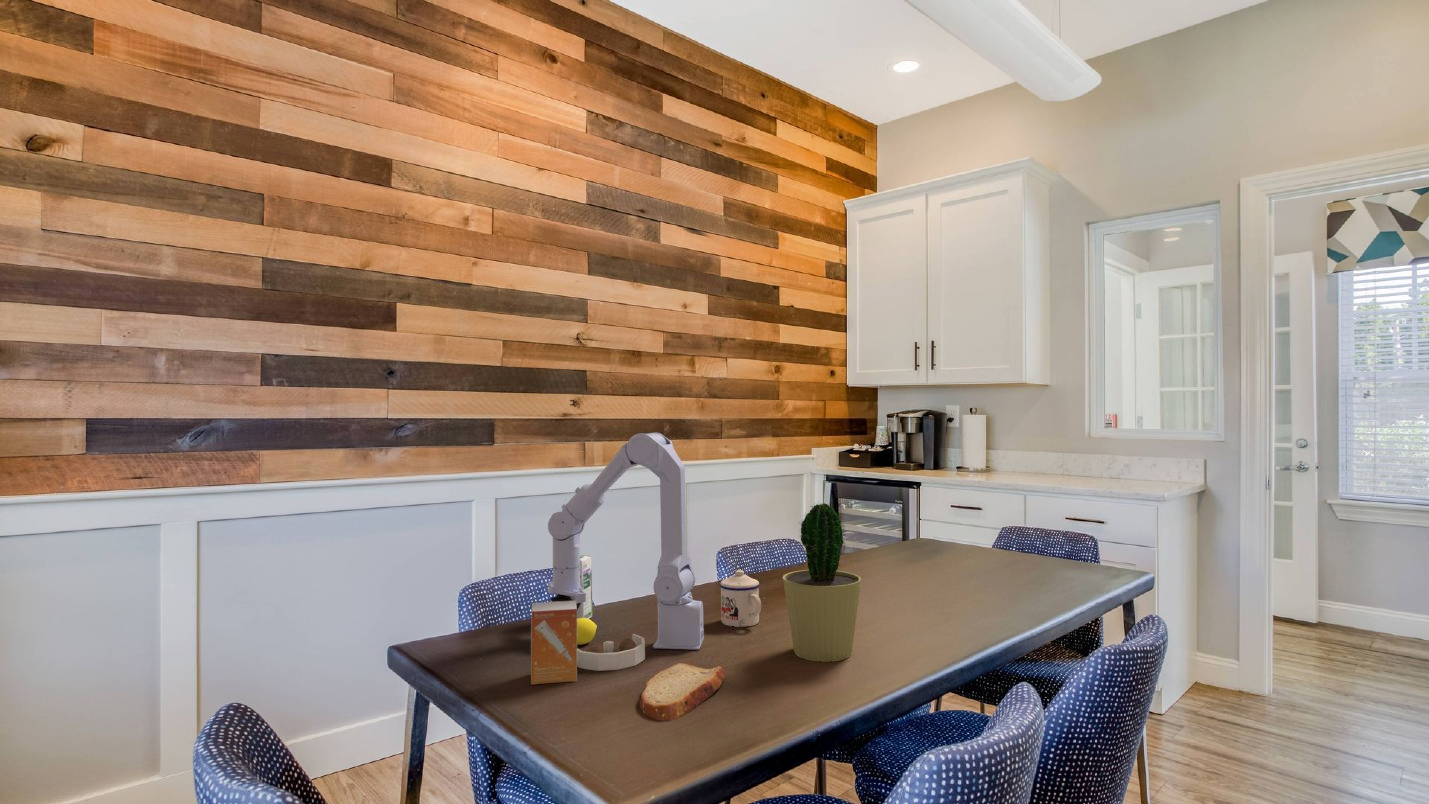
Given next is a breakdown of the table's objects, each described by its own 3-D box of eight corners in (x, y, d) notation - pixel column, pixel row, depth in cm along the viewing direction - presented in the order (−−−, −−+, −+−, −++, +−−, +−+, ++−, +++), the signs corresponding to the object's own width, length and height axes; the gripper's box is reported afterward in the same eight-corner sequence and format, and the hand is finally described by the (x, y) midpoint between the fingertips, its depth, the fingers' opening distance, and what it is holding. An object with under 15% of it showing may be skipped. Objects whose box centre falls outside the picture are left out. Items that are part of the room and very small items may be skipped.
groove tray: (657, 651, 147) (657, 636, 147) (621, 674, 134) (621, 657, 134) (605, 644, 152) (605, 630, 152) (565, 666, 139) (565, 650, 139)
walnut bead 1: (606, 660, 142) (606, 643, 142) (601, 666, 138) (601, 648, 138) (589, 660, 142) (589, 642, 142) (584, 666, 139) (584, 648, 139)
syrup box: (583, 623, 167) (583, 559, 168) (559, 622, 169) (559, 559, 169) (592, 617, 173) (592, 555, 173) (569, 616, 174) (568, 554, 174)
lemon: (572, 652, 149) (568, 626, 148) (562, 645, 153) (558, 620, 153) (603, 641, 152) (600, 616, 152) (593, 635, 157) (589, 610, 157)
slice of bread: (653, 726, 112) (652, 701, 112) (619, 687, 129) (619, 665, 129) (757, 706, 120) (757, 682, 120) (712, 671, 136) (712, 651, 136)
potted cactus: (815, 636, 156) (813, 494, 157) (877, 651, 145) (875, 499, 146) (767, 652, 146) (765, 500, 146) (830, 671, 135) (828, 507, 135)
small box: (530, 685, 129) (530, 611, 129) (531, 673, 135) (531, 602, 135) (577, 681, 131) (577, 608, 131) (576, 669, 137) (576, 599, 137)
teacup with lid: (712, 621, 169) (711, 570, 169) (744, 614, 174) (743, 565, 174) (743, 633, 159) (742, 579, 159) (776, 626, 164) (775, 573, 164)
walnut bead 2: (637, 653, 146) (637, 636, 146) (634, 659, 142) (633, 641, 142) (621, 653, 146) (620, 635, 146) (616, 658, 143) (616, 641, 143)
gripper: (535, 563, 162) (535, 625, 162) (563, 574, 150) (563, 641, 150) (565, 559, 166) (565, 620, 166) (594, 570, 155) (595, 635, 154)
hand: (566, 630), depth 158 cm, fingers closed
